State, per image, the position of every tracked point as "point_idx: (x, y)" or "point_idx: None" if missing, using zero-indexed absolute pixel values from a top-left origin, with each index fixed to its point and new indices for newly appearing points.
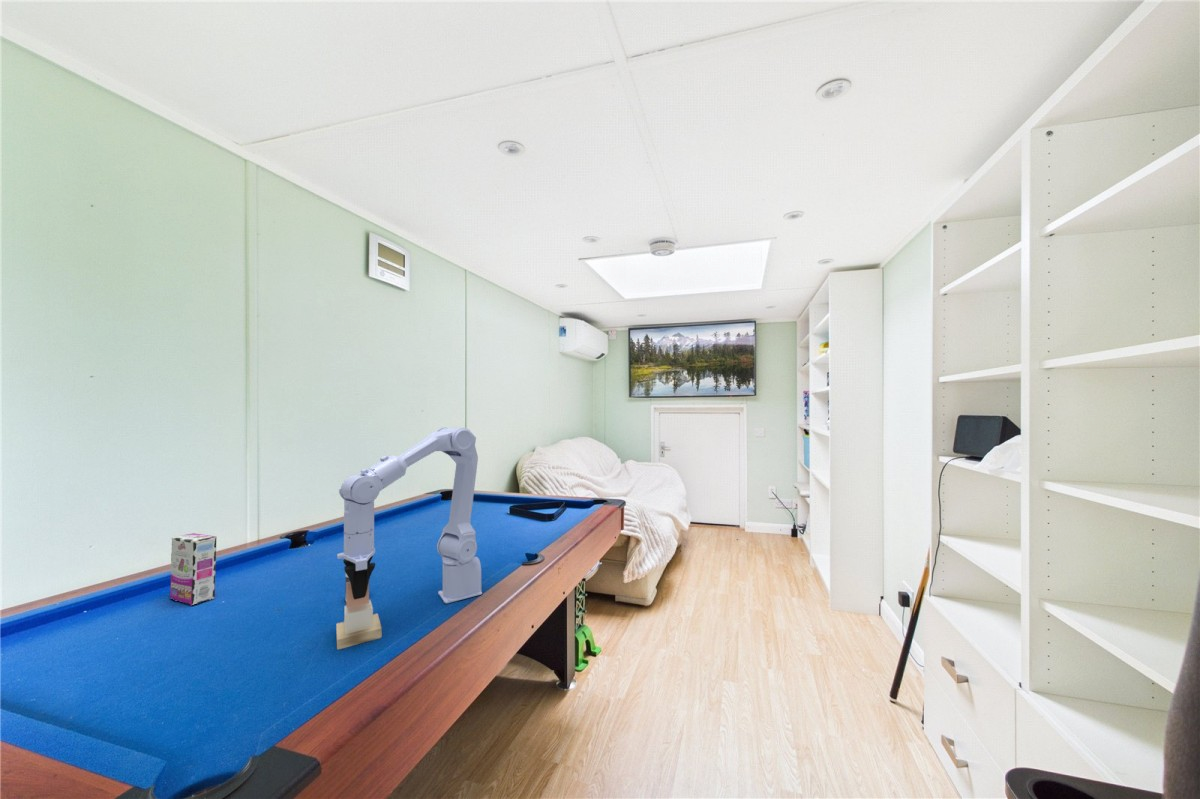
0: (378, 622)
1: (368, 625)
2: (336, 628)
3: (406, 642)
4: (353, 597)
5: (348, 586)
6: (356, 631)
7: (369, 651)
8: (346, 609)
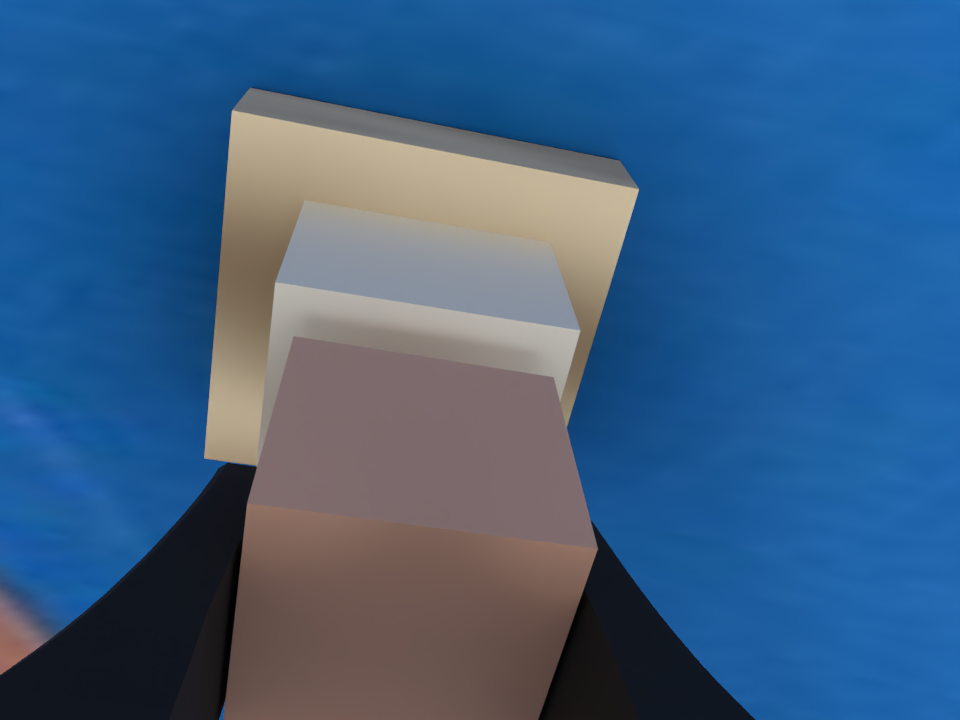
0: None
1: None
2: (565, 169)
3: (8, 513)
4: (218, 474)
5: (352, 535)
6: None
7: (32, 285)
8: (440, 324)
